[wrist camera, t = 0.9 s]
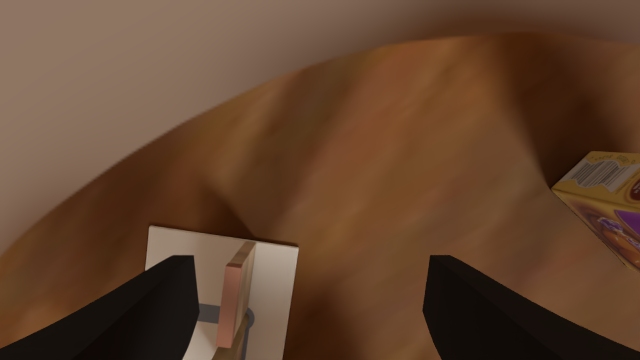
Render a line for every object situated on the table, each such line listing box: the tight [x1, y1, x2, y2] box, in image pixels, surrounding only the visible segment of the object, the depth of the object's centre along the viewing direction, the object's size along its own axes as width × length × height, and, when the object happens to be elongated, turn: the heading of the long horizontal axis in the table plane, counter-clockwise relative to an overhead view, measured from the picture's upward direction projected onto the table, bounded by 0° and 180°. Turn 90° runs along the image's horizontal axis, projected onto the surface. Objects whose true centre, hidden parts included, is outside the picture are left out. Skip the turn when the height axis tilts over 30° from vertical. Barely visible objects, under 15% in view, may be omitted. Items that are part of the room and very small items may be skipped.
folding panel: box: [216, 241, 256, 348], centre depth 21 cm, size 5×1×5 cm, turn 171°
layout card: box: [145, 226, 299, 360], centre depth 24 cm, size 11×11×1 cm
